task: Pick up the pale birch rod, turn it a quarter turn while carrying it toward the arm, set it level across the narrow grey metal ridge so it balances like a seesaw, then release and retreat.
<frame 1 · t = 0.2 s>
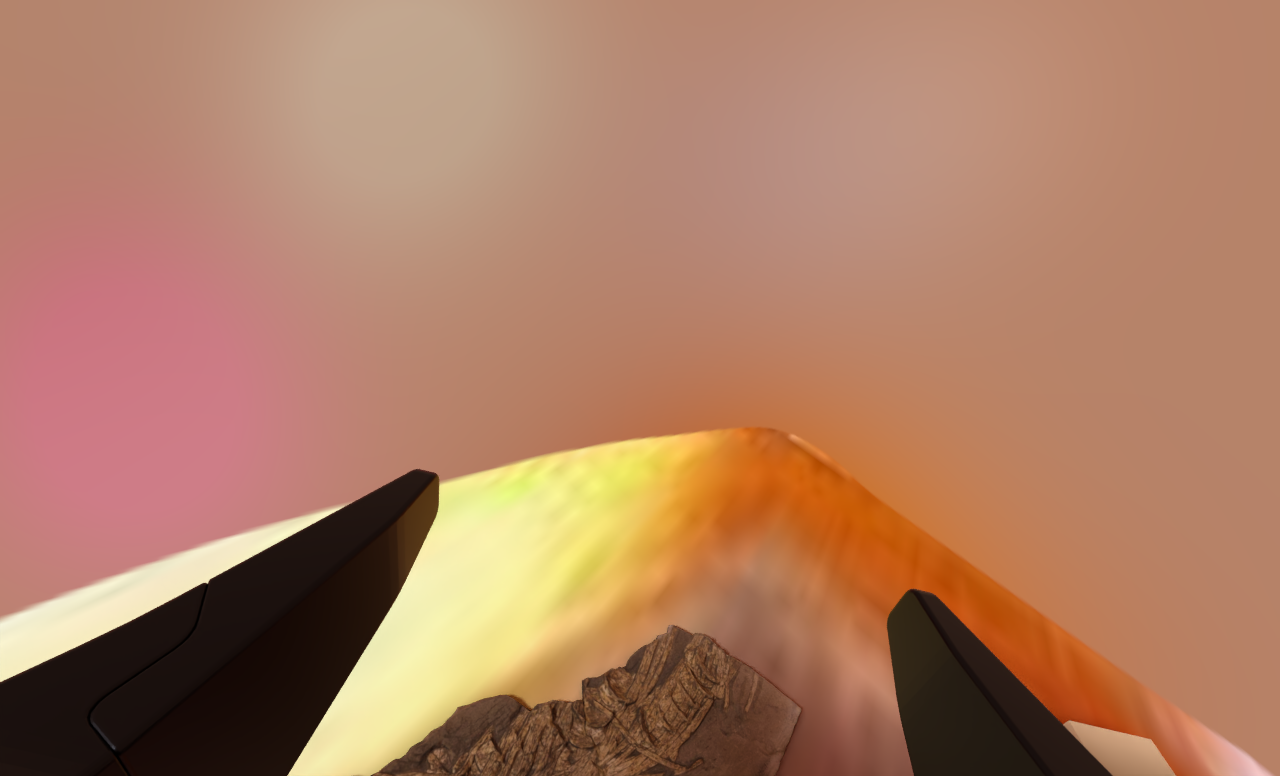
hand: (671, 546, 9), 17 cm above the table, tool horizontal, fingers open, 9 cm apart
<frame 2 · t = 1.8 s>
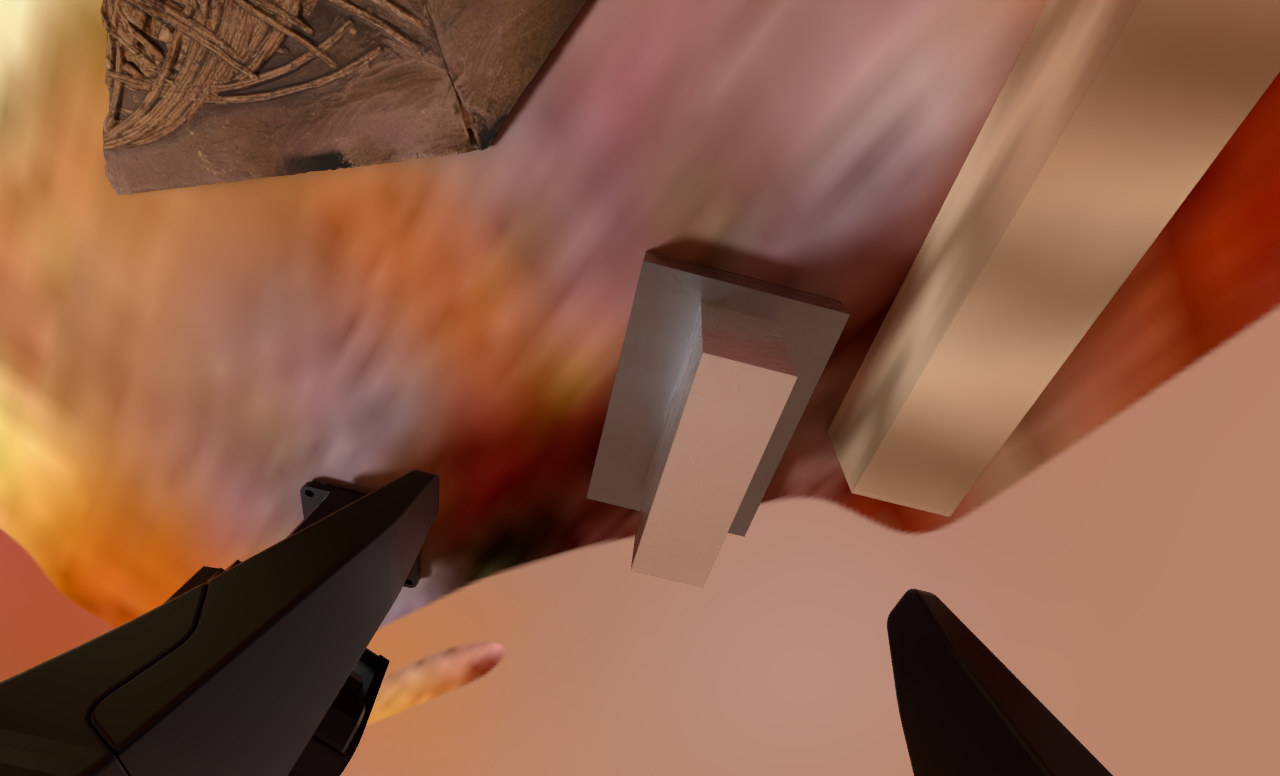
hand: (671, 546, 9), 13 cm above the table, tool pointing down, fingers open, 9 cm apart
balance ridge: (700, 400, 23), on the table
wooden fragment: (348, 14, 17), on the table
birch rod: (972, 251, 19), on the table
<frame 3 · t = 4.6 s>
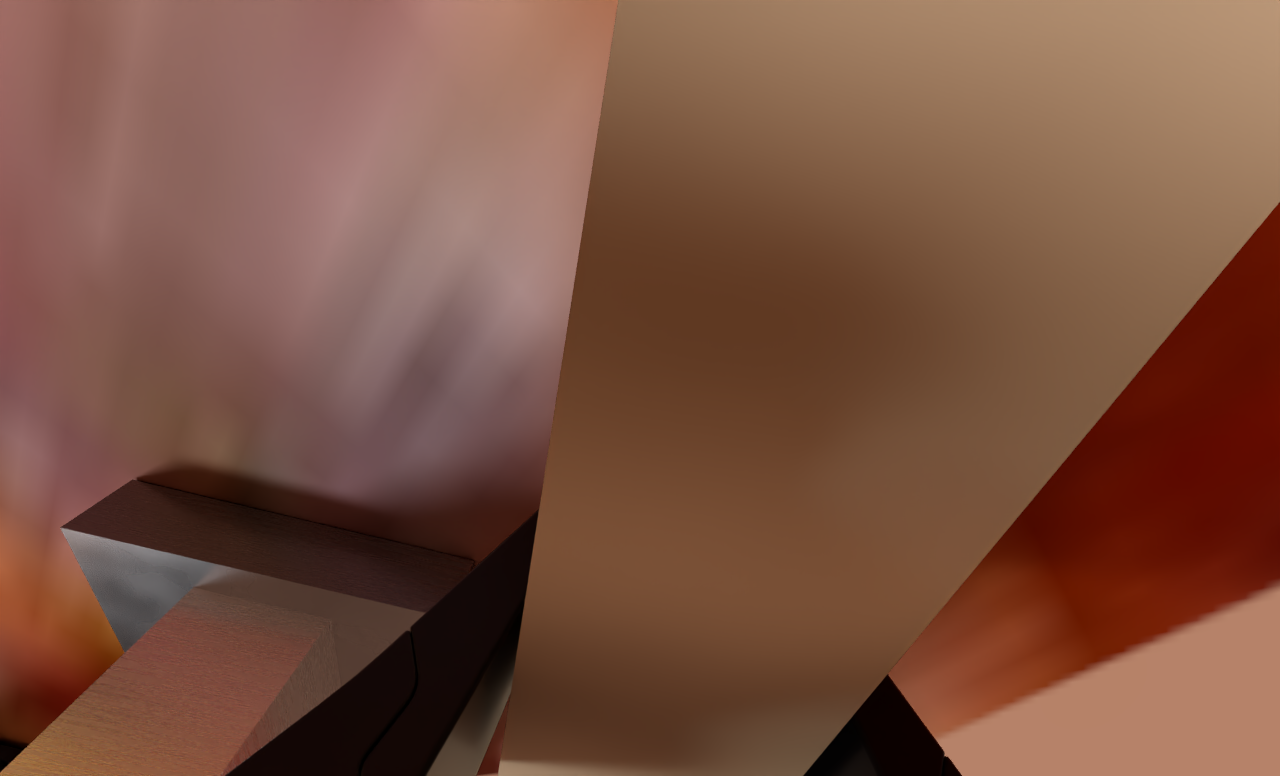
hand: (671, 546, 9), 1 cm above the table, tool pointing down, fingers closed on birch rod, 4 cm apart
balance ridge: (328, 665, 15), on the table
birch rod: (673, 501, 10), on the table, touching gripper
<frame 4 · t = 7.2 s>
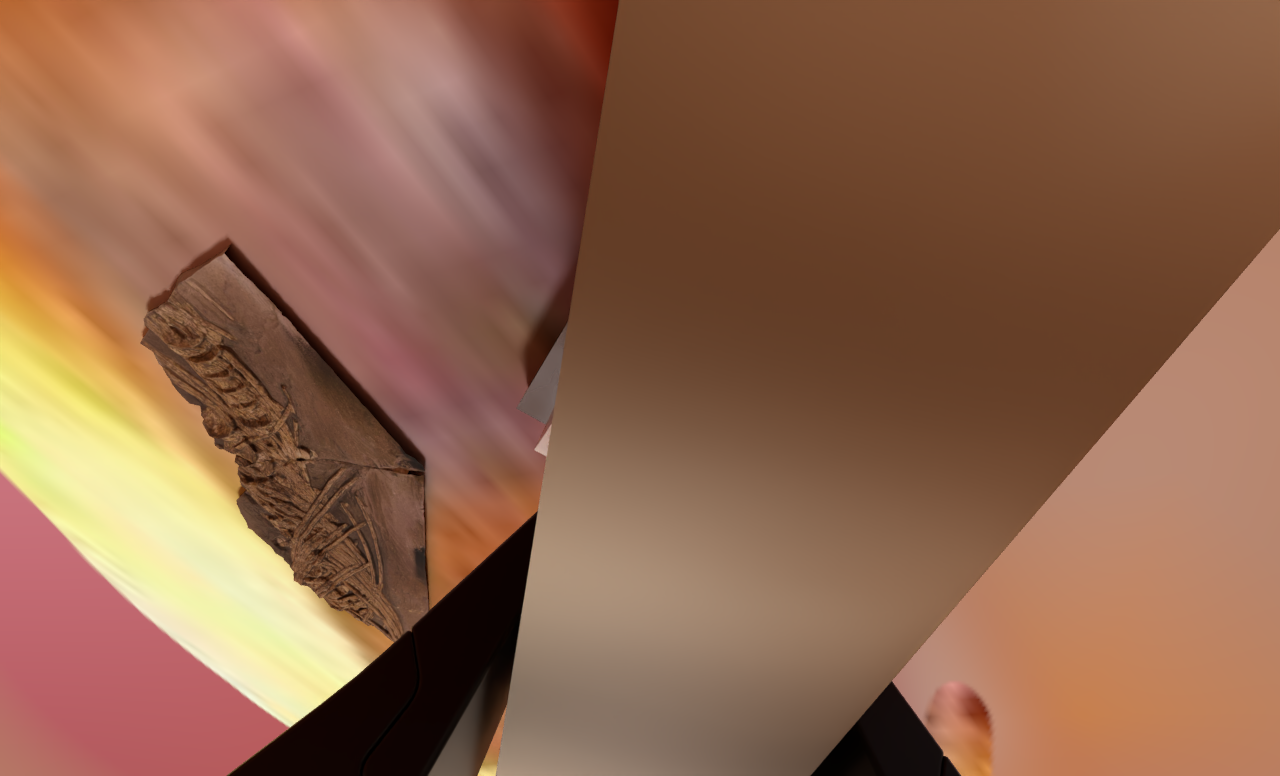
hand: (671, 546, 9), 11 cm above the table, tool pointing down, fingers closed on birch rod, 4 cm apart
balance ridge: (704, 392, 20), on the table
wooden fragment: (345, 497, 26), on the table
birch rod: (673, 503, 10), point 9 cm above the table, touching gripper
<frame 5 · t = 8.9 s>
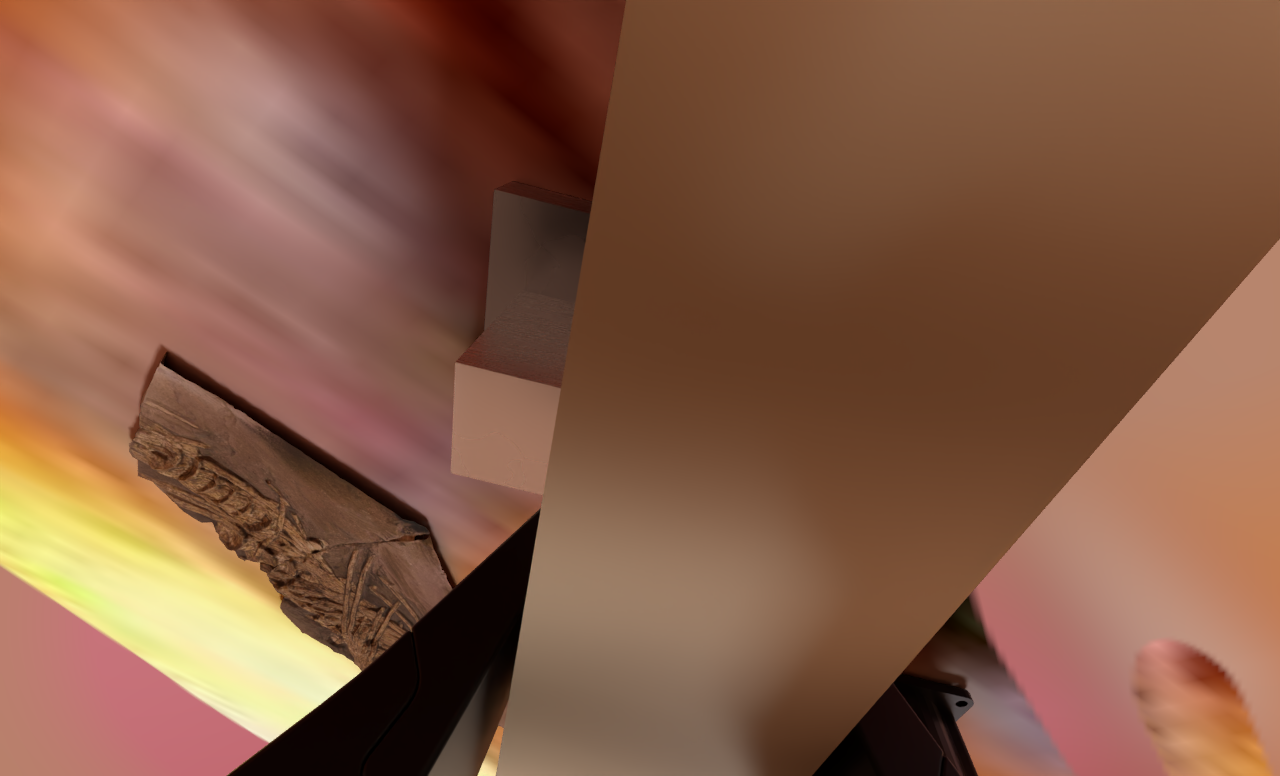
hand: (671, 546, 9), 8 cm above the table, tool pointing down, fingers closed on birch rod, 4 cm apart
balance ridge: (682, 356, 16), on the table
wooden fragment: (376, 579, 24), on the table
birch rod: (673, 504, 10), point 7 cm above the table, touching gripper
when the fingers open (8 cm above the table, at t = 10.0 s): birch rod stays where it is, resting on balance ridge.
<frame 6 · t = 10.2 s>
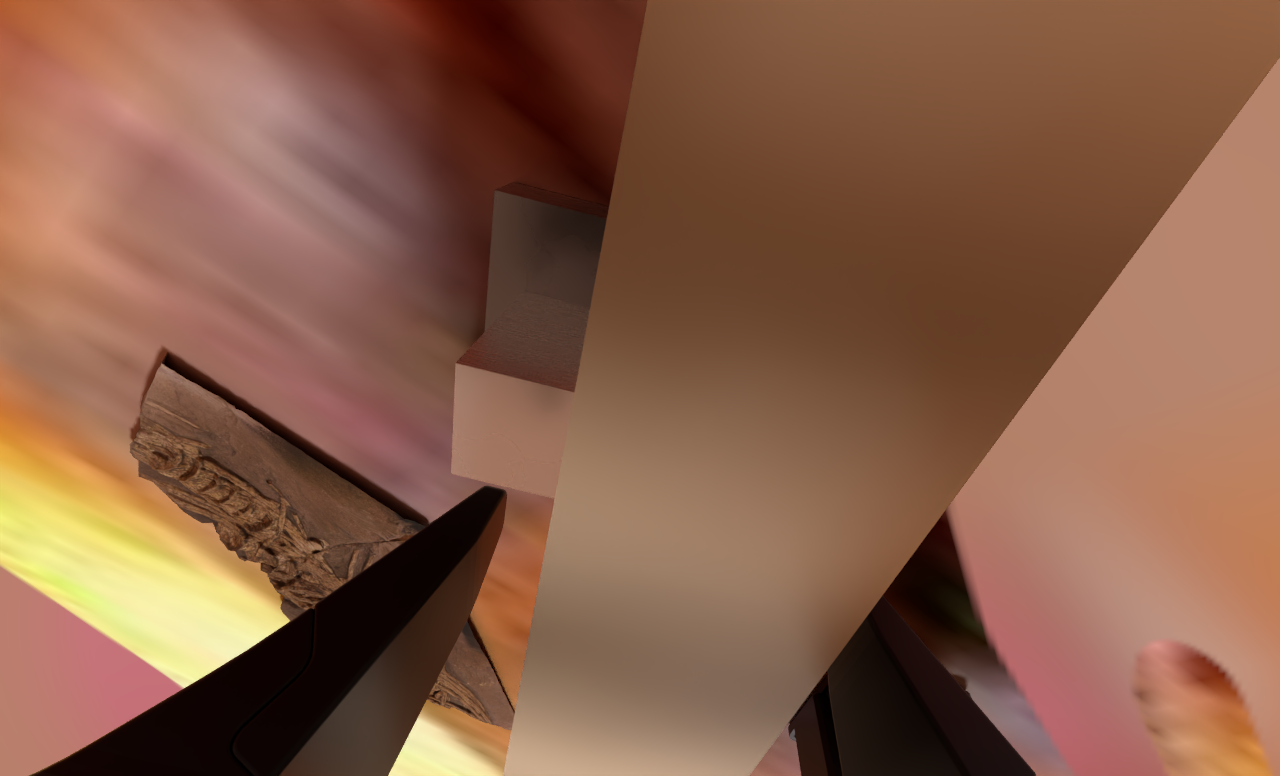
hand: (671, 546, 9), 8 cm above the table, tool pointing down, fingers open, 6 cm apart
balance ridge: (682, 357, 16), on the table
wooden fragment: (376, 579, 24), on the table
birch rod: (674, 478, 11), point 6 cm above the table, touching balance ridge
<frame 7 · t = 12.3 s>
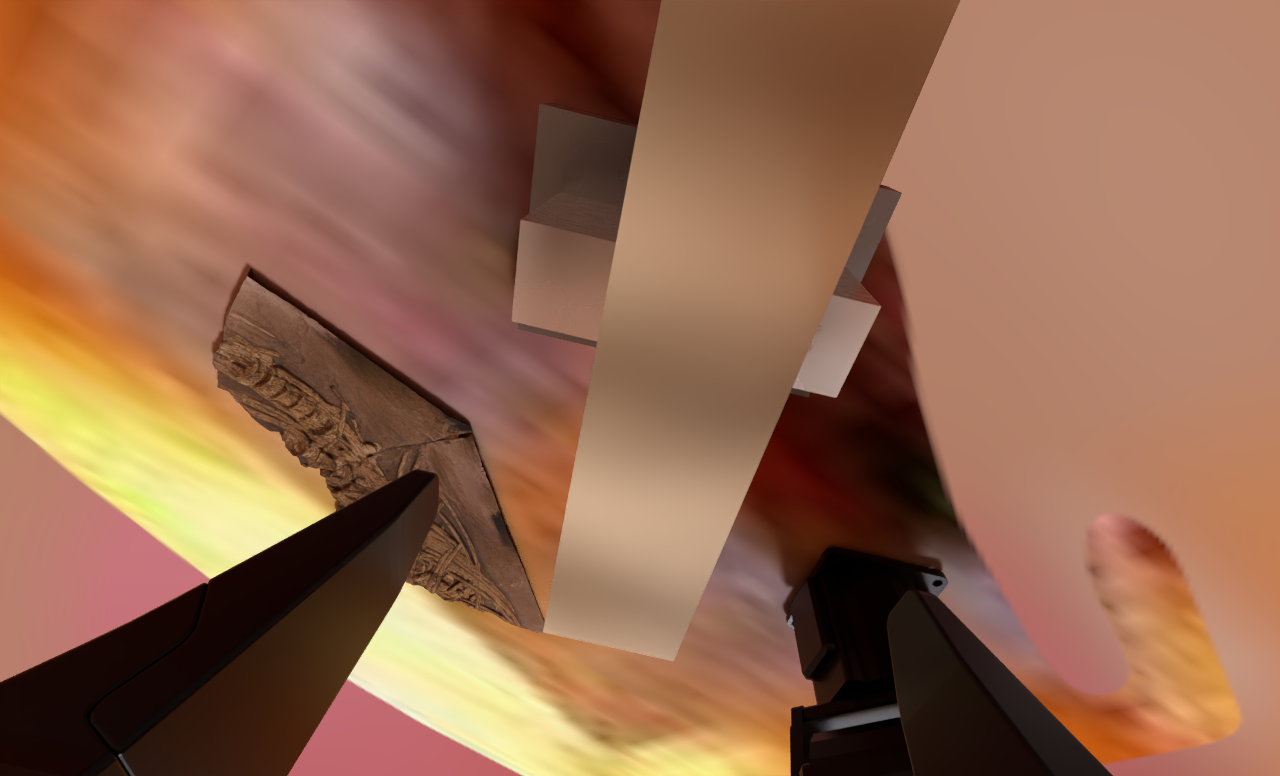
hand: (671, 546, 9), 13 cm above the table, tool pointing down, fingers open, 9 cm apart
balance ridge: (690, 256, 19), on the table
wooden fragment: (420, 486, 28), on the table
birch rod: (688, 316, 14), point 6 cm above the table, touching balance ridge
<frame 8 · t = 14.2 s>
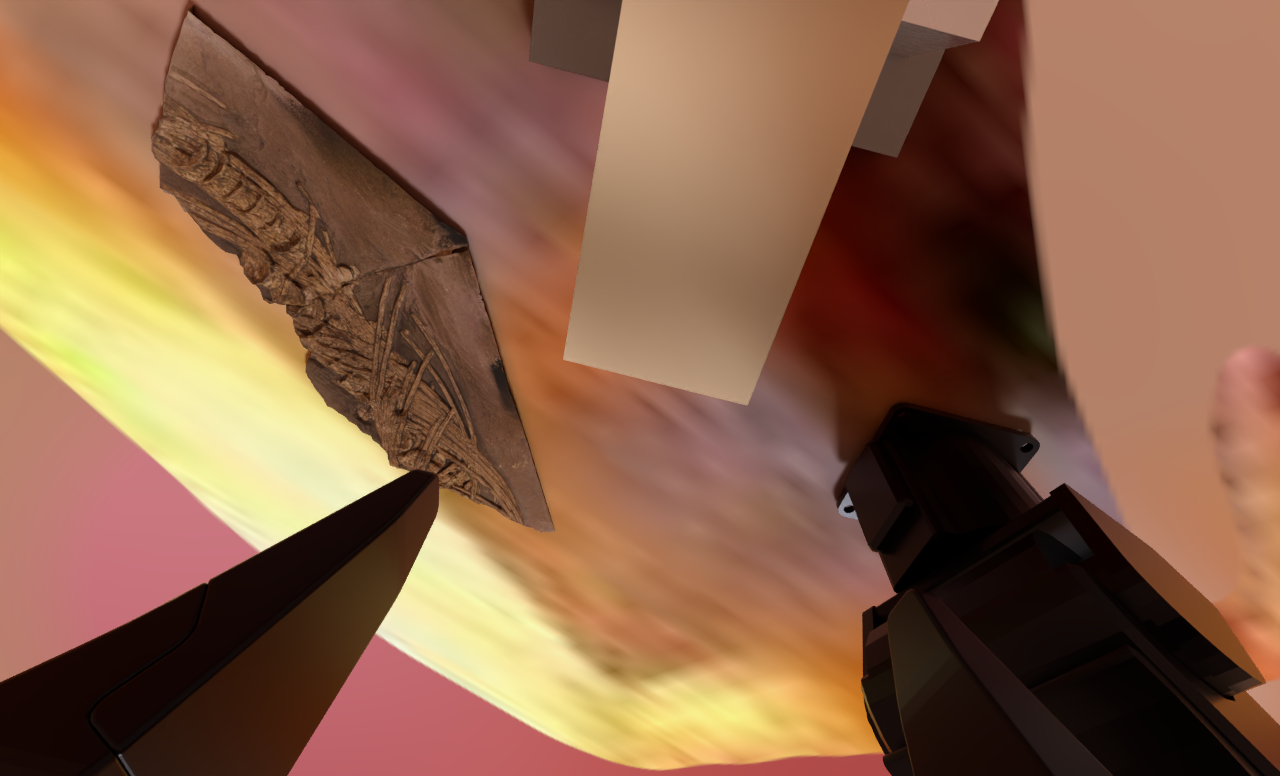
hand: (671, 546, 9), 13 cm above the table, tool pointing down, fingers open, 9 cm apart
wooden fragment: (406, 335, 23), on the table
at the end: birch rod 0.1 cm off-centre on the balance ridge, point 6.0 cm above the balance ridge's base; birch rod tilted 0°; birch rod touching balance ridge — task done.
